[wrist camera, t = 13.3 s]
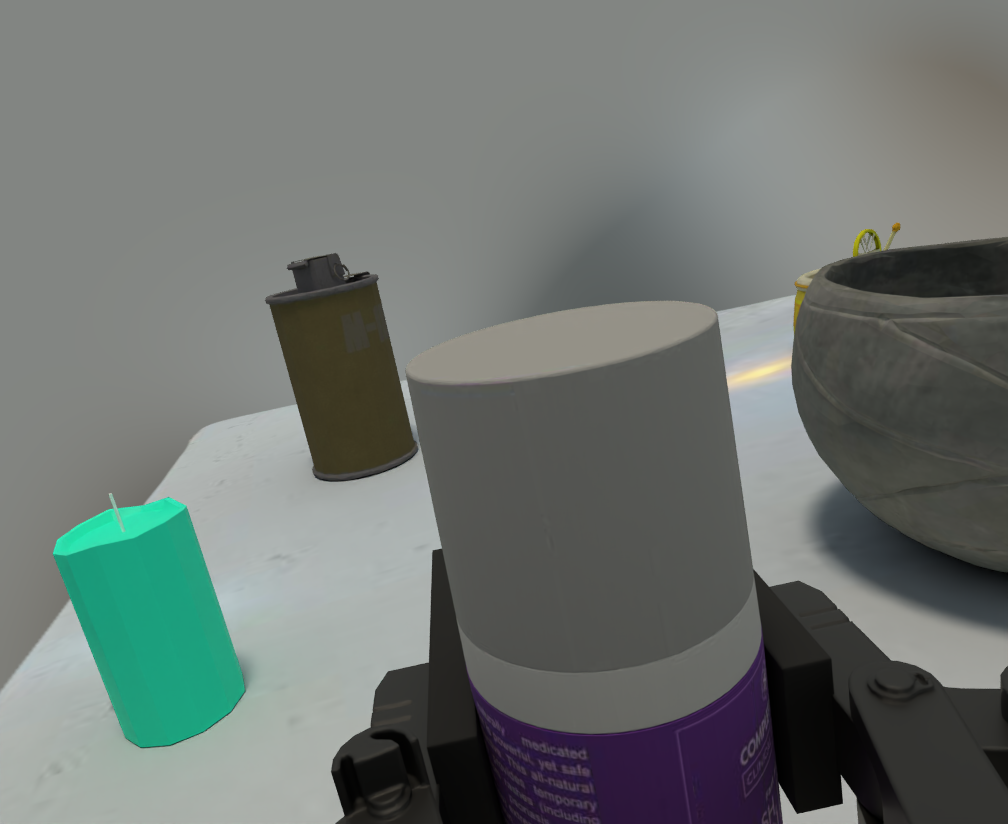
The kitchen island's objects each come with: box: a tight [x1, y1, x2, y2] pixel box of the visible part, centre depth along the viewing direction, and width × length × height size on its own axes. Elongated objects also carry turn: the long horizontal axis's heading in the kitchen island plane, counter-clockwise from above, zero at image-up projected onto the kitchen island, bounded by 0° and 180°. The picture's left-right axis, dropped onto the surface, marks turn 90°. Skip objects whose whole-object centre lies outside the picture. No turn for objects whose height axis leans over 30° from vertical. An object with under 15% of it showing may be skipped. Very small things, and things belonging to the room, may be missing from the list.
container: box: [405, 301, 783, 824], centre depth 12 cm, size 5×5×15 cm
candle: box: [53, 493, 245, 747], centre depth 36 cm, size 6×6×12 cm
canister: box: [265, 253, 418, 481], centre depth 70 cm, size 11×10×20 cm
